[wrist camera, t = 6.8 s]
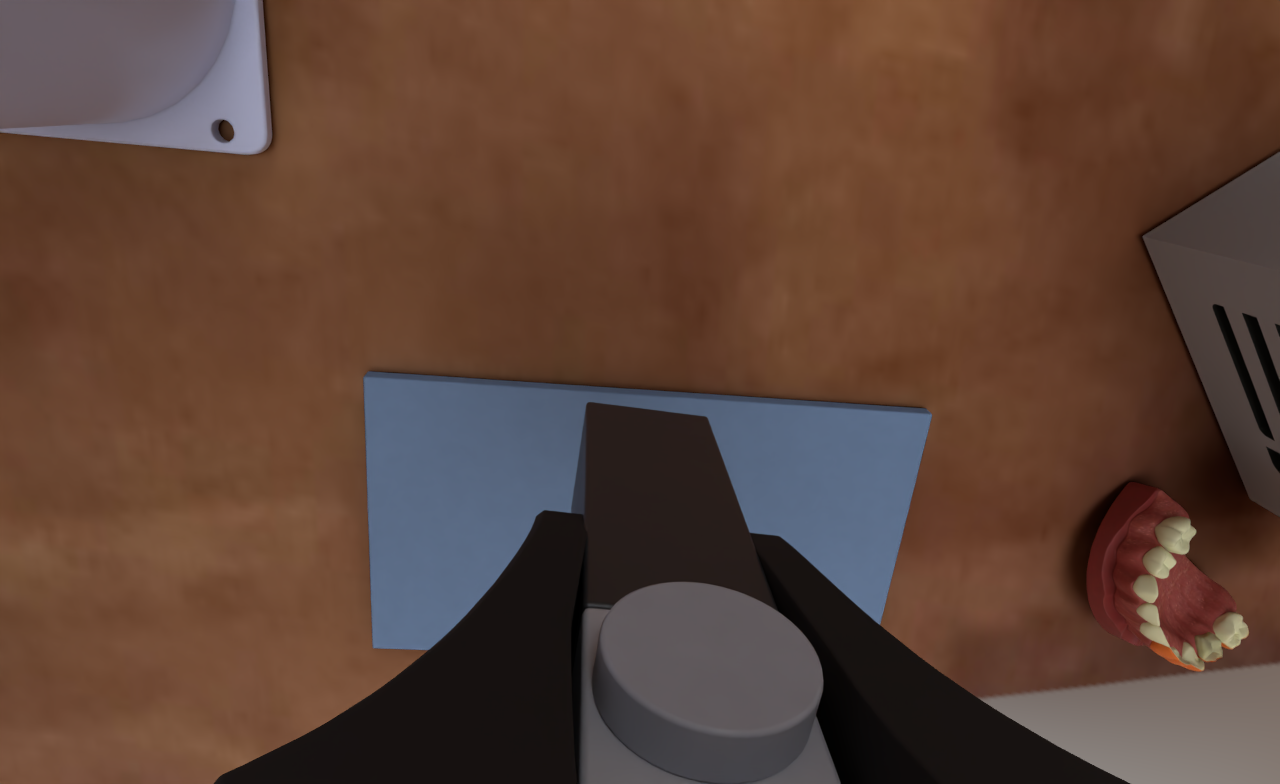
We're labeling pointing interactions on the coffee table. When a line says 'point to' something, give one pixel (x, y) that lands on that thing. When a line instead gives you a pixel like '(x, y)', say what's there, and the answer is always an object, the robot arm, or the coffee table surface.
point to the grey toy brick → (681, 620)
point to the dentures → (1158, 582)
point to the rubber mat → (546, 470)
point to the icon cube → (1233, 314)
